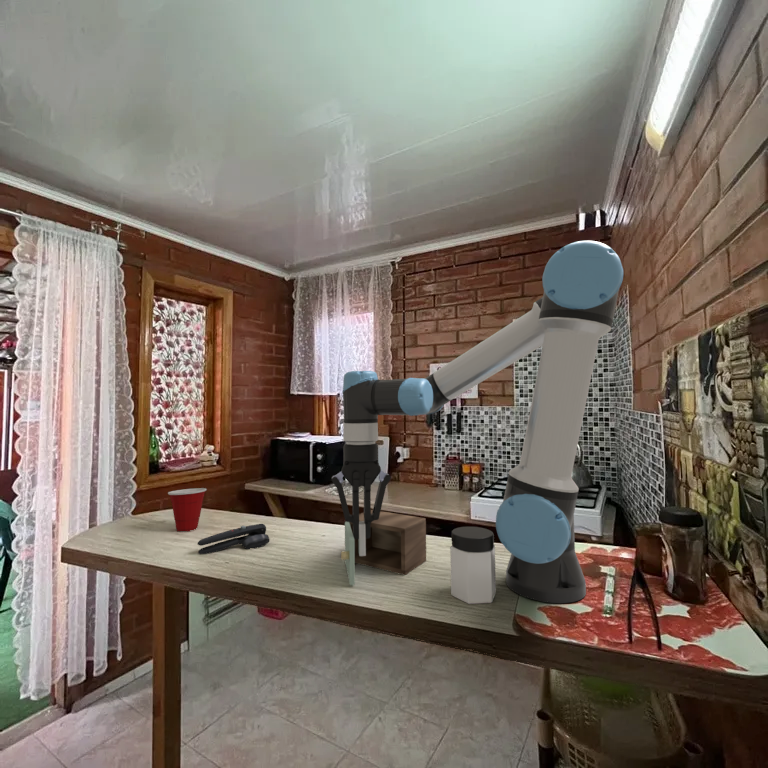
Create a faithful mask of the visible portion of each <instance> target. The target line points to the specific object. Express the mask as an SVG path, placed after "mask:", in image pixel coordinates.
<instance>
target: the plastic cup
mask: <svg viewBox="0 0 768 768" xmlns="http://www.w3.org/2000/svg"><path fill="white" fill-rule="evenodd" d="M207 490H208V489H207V488H206V487H205V488H204V487H201V488H199V487H198V488H197V487H196V488H186V489H177V490H172V491H168V492H167V494H168V495H169V497H170V498H169V499H170V502H171V507H172V512H173V518H174V523H175V530H176V532H178V531H187V532H191V531H190V530H193V531H195V530H197V529H198V527H199V523H200V517H201V512H202V507H203V501H204V497H205V493H206V491H207ZM196 528H197V529H196ZM194 529H195V530H194Z"/></svg>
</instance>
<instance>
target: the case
mask: <svg viewBox="0 0 768 768" xmlns="http://www.w3.org/2000/svg"><path fill="white" fill-rule="evenodd" d="M372 512H373V509H371V514H372ZM426 519H427V518H425V517H419V516H415V515H407V514H401V513H396V512H395V513H393V512H389V511H382V510H381V511H380V515H379V519H378V520H374V521H372V522H371V525H370V527H371V536H370V538H366V556H359V552H358V539H354V540H355V564H358V565H363V566H366V567H370V568H374V569H378V568H379V569H380V570H382V569H383V570H384V571H386V570H388V571H387V572H390V571H391V572H390V573H394V572H395V573H396V574H398V573H399V575H402V576H407V575H408V574H409V573H410V572H412V571H414V570H415V569H416V568H418V567H419V566H421V565H422V564H424V563H425V562H426V561H427V521H426ZM359 521H364V512H361V513H359ZM349 523H350V527H351V530H352V533H353V523H351V522H349ZM379 569H378V570H379ZM395 573H394V574H395Z"/></svg>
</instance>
